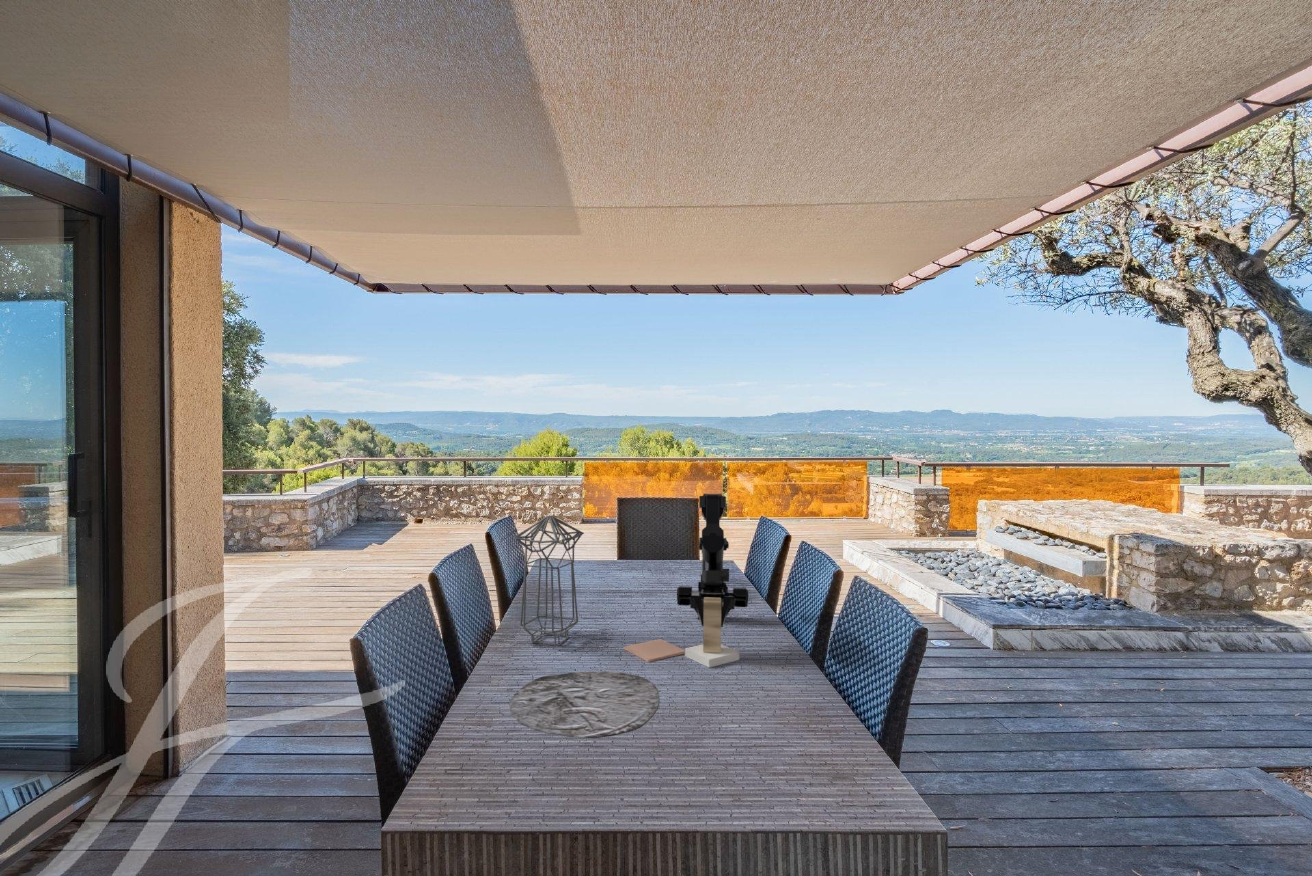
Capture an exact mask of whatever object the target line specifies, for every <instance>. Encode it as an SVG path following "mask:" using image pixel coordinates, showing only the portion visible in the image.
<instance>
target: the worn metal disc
mask: <svg viewBox="0 0 1312 876" xmlns="http://www.w3.org/2000/svg"><path fill="white" fill-rule="evenodd" d="M513 695H514V696H512V698H511V699H510V700H509V704H510V705H509V713H510V715H512V718H514V720H516V721H517V722H519V724H521V725H522V726H524V727H526V728H529V729H531V730H534V731H537V732H542V733H544V734H545V735H546V734H547V735H558V736H562V737H567V738H575V739H576V738H578V739H579V738H580V739H581V738H582V739H596V738H599V739H600V738H603V737H604V738H605V737H606V738H607V737H613V736H617V735H621V734H627V733H630V732H632V731H634V730H637V729H641V728H642V727H643V726H645V724H646V723H648V722H649V721H650V719H652V717H653V716H654V715H655V713H656V712H657V710H658V709H659V706H660V705H659V704H660V695H659V690H658V688H657V686H656V685H655V684H654V683H653V682H652V681H650V680H649V679H647V678H645V677H643V676H640V675H636V674H632V673H628V672H627V673H626V672H619V671H607V670H605V671H604V670H603V671H602V670H601V671H600V670H598V671H597V670H596V671H595V670H593V671H574V672H573V671H572V672H567V673H560V674H550V675H545V676H544V675H543V676H540V677H538V678H535V679H534V680H532V681H530V682H528V683H527V684H525V685H523V686H522V687H521V688H520V689H518V690H516V692H515V693H514V694H513Z"/></svg>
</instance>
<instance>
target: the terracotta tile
mask: <svg viewBox="0 0 1312 876" xmlns="http://www.w3.org/2000/svg"><path fill="white" fill-rule="evenodd" d="M623 650H625V651H627V653H628V652H629V653H631V654H632V655H634V656H636V657H638V658H640V659H641V660H643V661H645V662H648V663H650V662H655V661H660V660H662V659H668V658H671V657H676V656H680V655H685V649H683V648H681V647H678V646H677V645H674V644H673V643H670V642H668V641H666V640H663V639H661V638H658V639H652V640H648V641H644V642H639V643H635V644H634V643H633V644H631V645H630V644H629V645H625V646H624V645H623Z"/></svg>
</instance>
